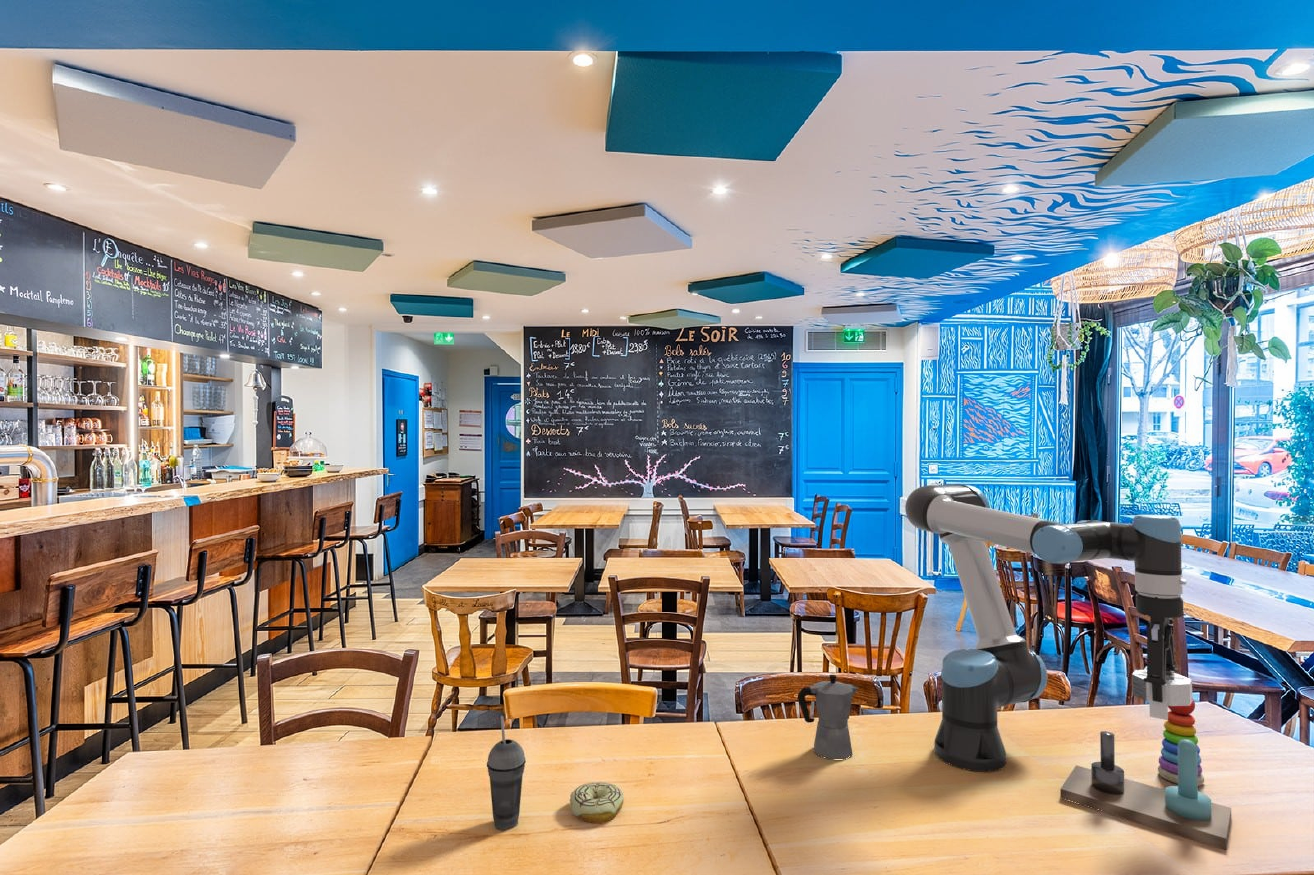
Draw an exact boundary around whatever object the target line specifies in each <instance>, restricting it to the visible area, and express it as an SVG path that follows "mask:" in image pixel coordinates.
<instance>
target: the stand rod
mask: <svg viewBox="0 0 1314 875" xmlns="http://www.w3.org/2000/svg"><path fill="white" fill-rule="evenodd" d="M1099 737H1100V738H1099V739H1100V742H1099V743H1100V744H1099V745H1100V750H1099V751H1100V761H1093V762H1092V763H1090V764H1091V765H1090V766H1091V767H1090V769H1091V784H1092V786H1093V787H1094V788H1095V789H1097V790H1099V791H1101V792H1104V793H1107V794H1113V795H1121V794H1123V793H1124V779H1125V770H1124V769H1123V768H1122V767H1120V766H1118V765H1117V764H1115V763H1116V762H1115V761H1116V760H1115V758H1116V757H1115V756H1116V755H1115V753H1116V752H1115V750H1116V749H1115V734H1114V733H1113V732H1111V731H1107V730H1102V731H1100V733H1099Z"/></svg>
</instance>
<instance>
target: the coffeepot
mask: <svg viewBox="0 0 1314 875" xmlns="http://www.w3.org/2000/svg"><path fill="white" fill-rule="evenodd" d="M858 690H860V687H858V686H857V685H854V684H849V683H844V682H840V681H837V675H836V674H830V675H829V681H827V680H823V681H819V682H816V683H813V685H812V686H811V685H810V686H803V687H802V688H801V690H800V691H798V692H799V693H797V701H798V703H799V706H800V709H801V712H802V716H803V719H804V721H805V722H806V723H814V722H815V717H810V711H809V709H808V705H807V700H806V696H812V697H813V696H814V697H815V698H814V699H815V704H816V711H817V716H818V721H817V725H816V730H815V737H814V742H813V751H814V754H816V755H817V754H819V755H820V756H822V757H825V758H827V759H826V760H829V759H845V760H847V759H846V758H848V757H849V756H851V757H853V756H852V755H854V754H853V749H852V741H851V736H850V730H849V725H848V724H849V723H848V722H849V721H848V720H849V719H850V716H851V708H852V703H853V702H852V700H853V698H854V696H855V694H856V693H857V691H858ZM820 756H819V757H820ZM822 757H821V758H822ZM825 758H824V759H825ZM848 759H849V758H848Z"/></svg>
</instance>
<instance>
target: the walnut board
mask: <svg viewBox="0 0 1314 875" xmlns="http://www.w3.org/2000/svg"><path fill="white" fill-rule="evenodd" d="M1059 791H1060V793H1059V794H1060V798H1062V799H1061V800H1063V799H1066V800H1065V801H1067V800H1070V801H1073V802H1076V803H1079V804H1081V805H1080V806H1083V805H1086V806H1089V807H1092V808H1094V809H1093V810H1096V809H1099V810H1102V811H1103V813H1106V814H1109V815H1112V816H1115V817H1119V818H1122V819H1126V820H1129V821H1132V822H1135V823H1138V824H1141V825H1145V826H1147V827H1151V828H1154V829H1157V830H1161V831H1164V832H1167V833H1171V834H1173V835H1177V836H1181V837H1183V838H1187V839H1190V840H1194V841H1196V842H1199V843H1202V844H1206V845H1210V846H1213V847H1216V848H1219V849H1221V850H1227V848H1228V841H1229V836H1230V828H1231V823H1232V807H1229V806H1225V805H1222V804H1218V803H1214V802H1211V812H1212V818H1211V819H1210V820H1207V821H1197V820H1191V819H1187V818H1184V817H1181V816H1178V815H1176V814H1174V813H1172V812H1171V811H1169V810H1168V809H1167V808H1166V806H1165V788H1160V787H1156V786H1152V785H1151V784H1150V785H1149V784H1146V783H1143V782H1138V781H1134V780H1131V779H1128V778H1124V793H1123V794H1121V795H1113V794H1107V793H1104V792H1101V791H1099V790H1097V789H1095V788H1094V787H1093V786H1092V784H1091V768H1088V767H1085V766H1081V765H1077V764H1075V766H1074V768H1073V769H1072V771H1071V772H1070V774H1069V775H1068V777H1067V778H1066V780H1065V781H1064V782H1063V784H1062V785H1061V787H1060V789H1059ZM1070 801H1069V802H1070ZM1073 802H1072V803H1073ZM1076 803H1075V804H1076ZM1079 804H1078V805H1079ZM1086 806H1085V807H1086ZM1089 807H1088V808H1089ZM1092 808H1091V809H1092ZM1099 810H1098V811H1099ZM1102 811H1101V812H1102Z"/></svg>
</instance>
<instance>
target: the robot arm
mask: <svg viewBox="0 0 1314 875" xmlns="http://www.w3.org/2000/svg"><path fill="white" fill-rule="evenodd" d="M906 498H907V499H906V501H905V505H904V511H905V515H906V517H907V519H908V522H909V523H910V524H911V525H912V526H913V527H915V528H916V529H918V530H920V531H926V532H929V533H933V534H937V535H938V536H939V540H940V541H941V542H942V543H944V544H946V545H947V546H948V547H949V551H950V554H951V556H952V557H951V558H952V560H953V562H954V567H955V569H956V572H957V573H956V574H957V576H958V579H959V582H960V585H961V589H962V592H963V595H964V599H965V601H966V605H967V608H968V611H969V613H970V618H971V620H972V624H973V626H974V630H975V633H976V636H977V639H978V642H977V644H976V645H975V647H974V648H969V649H965V648H962V649H956V650H953V651H949V652H948V653H947V654H946V655H945V656H944V657H943V659H942V664H941V666H942V667H941V672H940V677H941V708H942V709H941V712H942V714H941V715H942V716H941V722H940V725H939V727H938V730H937V732H936V736H935V739H934V744H933V746H934V751H935V752H934V754H935V756H936V757H937V756H938V759H940V760H941V759H942V760H941V761H943V762H945V763H946V764H948V763H950V764H949V765H951V764H952V765H951V766H953V767H957V768H959V769H963V768H965V769H964V770H967V769H969V770H968V771H973V770H974V772H995V771H999V769H1000V770H1002V769H1003V768H1005V767H1006V766H1005V765H1007V751H1006V749H1005V745H1004V743H1003V739H1002V737H1001V733H1000V731H999V726H998V708H1001V707H1002V708H1003V707H1007V706H1010V705H1015V704H1019V703H1021V704H1022V703H1027V702H1030V701H1031V700H1033V699H1034V700H1035V699H1036V698H1038V697H1040V696H1041V695H1042V694H1043V692H1044V690H1045V689H1046V686H1047V684H1048V670H1047V667H1046V664H1045V662H1044V660H1043V659H1042V657H1041V656H1040V655H1038V654H1037V653H1036V652H1035V651H1034V650H1032V649H1029V646H1028V644H1027V641H1026V639H1025V638H1024V637H1022V636H1020V635H1018V634H1017V632H1016V630H1015V627H1014V624H1013V620H1012V618H1011V617H1012V616H1011V615H1010V611H1009V609H1008V605H1007V603H1006V600H1005V597H1004V594H1003V592H1002V588H1001V585H1000V582H999V579H998V576H997V574H996V570H995V567H994V565H993V561H992V558H991V555H990V553H989V549H988V547H987V543H990V544H994V545H998V546H1002V547H1005V548H1010V549H1014V550H1016V551H1020V552H1025V553H1028V554H1033V555H1036V556H1037V557H1038V558H1040V559H1041V560H1042V561H1044V562H1046V563H1048V564H1049V563H1050V564H1058V565H1059V564H1060V565H1064V564H1065V565H1066V564H1069V563H1075V562H1083V561H1092V560H1093V561H1095V560H1101V559H1102V560H1103V559H1113V560H1121V561H1123V560H1124V561H1128V562H1129V561H1130V562H1133V563H1134V591H1136V592H1137V594H1136V595H1135V610H1136V612H1137V613H1139V614H1140V615H1143V616H1147V617H1149V618H1150V620H1149V621H1148V623H1147V624H1146V626H1145V628H1146V629H1145V633H1146V670H1147V677H1146V678H1144V682H1148V683H1149V702H1148V703H1149V717H1150V718H1156V719H1160V720H1164V721H1167V720H1168V712H1169V708H1168V705H1167V684H1166V681H1165V674H1166V672H1171V673H1179V666H1176V658H1175V657H1176V656H1175V644H1174V643H1175V642H1174V640H1175V639H1174V632H1175V625H1174V624H1173V623H1174V619H1180V618H1182V617H1184V615H1185V614H1184V599H1183V598H1182V597H1181V595H1183V591H1184V590H1183V586H1184V585H1186V584H1187V581H1186V579H1184V578H1183V569H1182V542H1183V538H1182V534H1181V525H1180V521H1179V519H1178V518H1177V517H1175V516H1172V515H1164V514H1163V515H1162V514H1137V515H1134V517H1133V518H1132V523H1122V522H1112V521H1111V522H1109V521H1101V520H1096V519H1093V520H1089V519H1088V520H1079V521H1077V522H1076V523H1062V522H1056V521H1052V520H1046V519H1044V518H1043V519H1042V518H1038V517H1033V516H1027V515H1022V514H1019V513H1018V514H1017V513H1012V512H1008V511H1005V510H999V509H994V508H991V505H990V503H989V500H988V498H987V496H986V495H985V494H984V493H983V491H982V490H980V489H979V488H978V487H977V488H976V486H973V485H969V484H963V483H961V484H960V483H954V484H940V485H938V484H937V485H930V484H929V485H923V486H920V487H918V488H916V489H915V490H914V489H913V491H912V492H910V494H909V495H908V497H906ZM1182 578H1183V579H1182ZM1153 675H1155V676H1153ZM1157 676H1159V677H1157ZM1001 768H1002V769H1001Z"/></svg>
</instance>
